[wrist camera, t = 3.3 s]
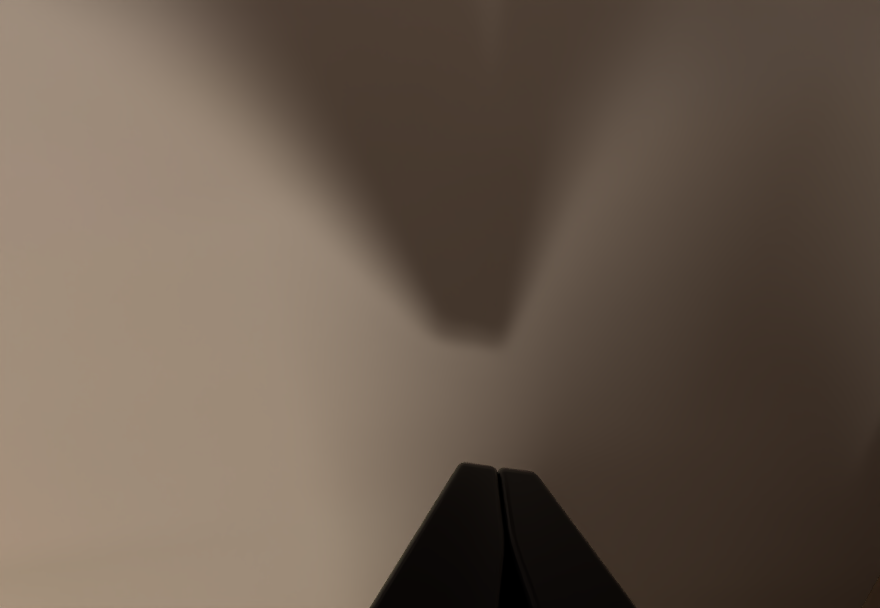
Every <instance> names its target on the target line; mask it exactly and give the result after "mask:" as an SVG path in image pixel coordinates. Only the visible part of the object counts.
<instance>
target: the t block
mask: <svg viewBox="0 0 880 608" xmlns="http://www.w3.org/2000/svg"><path fill="white" fill-rule="evenodd" d="M862 608H880V576H879V578H878V579H877V581H876V583H875V585H874V587H873V588H872V590H871V592H870V594H869V596H868V597H867V599H866V601H865V603H864V605H863V607H862Z"/></svg>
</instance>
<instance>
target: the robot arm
mask: <svg viewBox="0 0 880 608" xmlns="http://www.w3.org/2000/svg"><path fill="white" fill-rule="evenodd" d="M370 608H636V607H635V605H634V604H633V603H632V601H631V600H630V599H629V597H628V596H627V595H626V593H625V592H624V591H623V589H622V588H621V587H620V585H619V584H618V583H617V581H616V580H615V578H614V577H613V576H612V574H611V573H610V572H609V570H608V569H607V568H606V566H605V565H604V564H603V562H602V561H601V560H600V558H599V557H598V556H597V554H596V553H595V552H594V550H593V549H592V548H591V546H590V545H589V544H588V542H587V541H586V540H585V538H584V537H583V536H582V534H581V533H580V532H579V530H578V529H577V528H576V526H575V525H574V524H573V522H572V521H571V520H570V518H569V517H568V515H567V514H566V513H565V511H564V510H563V509H562V507H561V506H560V505H559V503H558V502H557V501H556V499H555V498H554V497H553V495H552V494H551V493H550V491H549V490H548V489H547V487H546V486H545V485H544V483H543V482H542V481H541V479H540V478H539V477H538V476H537V475H536V474H535V473H534V472H531V471H524V470H517V469H509V468H501V469H499V471H498V472H497V471H496V469H495V468H494V467H492V466H488V465H481V464H473V463H466V462H464V463H461V464H459V465H458V466H457V468H456V469H455V471H454V473H453V474H452V476H451V478H450V479H449V481H448V482H447V484H446V486H445V487H444V489H443V490H442V492H441V494H440V495H439V497H438V499H437V500H436V502H435V503H434V505H433V507H432V508H431V510H430V511H429V513H428V515H427V516H426V518H425V520H424V521H423V523H422V524H421V526H420V528H419V529H418V531H417V532H416V534H415V536H414V537H413V539H412V540H411V542H410V544H409V545H408V547H407V549H406V550H405V552H404V553H403V555H402V557H401V558H400V560H399V561H398V563H397V565H396V566H395V568H394V570H393V571H392V573H391V574H390V576H389V578H388V579H387V581H386V582H385V584H384V586H383V587H382V589H381V590H380V592H379V594H378V595H377V597H376V599H375V600H374V602H373V603H372V605H371V607H370Z"/></svg>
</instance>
